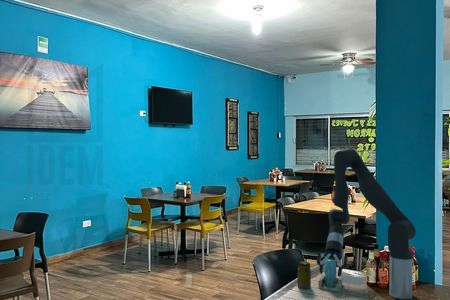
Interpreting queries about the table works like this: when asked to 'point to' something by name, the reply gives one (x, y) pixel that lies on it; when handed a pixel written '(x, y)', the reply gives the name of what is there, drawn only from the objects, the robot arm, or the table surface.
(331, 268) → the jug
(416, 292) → the table surface
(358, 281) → the mat
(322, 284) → the holder
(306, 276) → the condiment
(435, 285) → the table surface
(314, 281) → the table surface
